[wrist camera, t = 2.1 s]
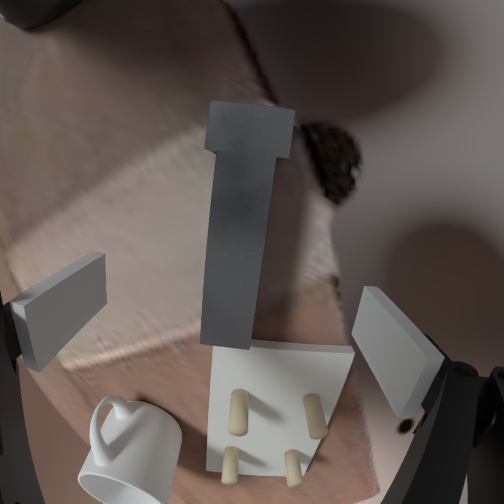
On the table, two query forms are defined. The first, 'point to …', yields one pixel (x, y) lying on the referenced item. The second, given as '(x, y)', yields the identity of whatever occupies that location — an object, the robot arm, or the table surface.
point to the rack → (272, 407)
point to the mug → (131, 454)
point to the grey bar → (239, 214)
